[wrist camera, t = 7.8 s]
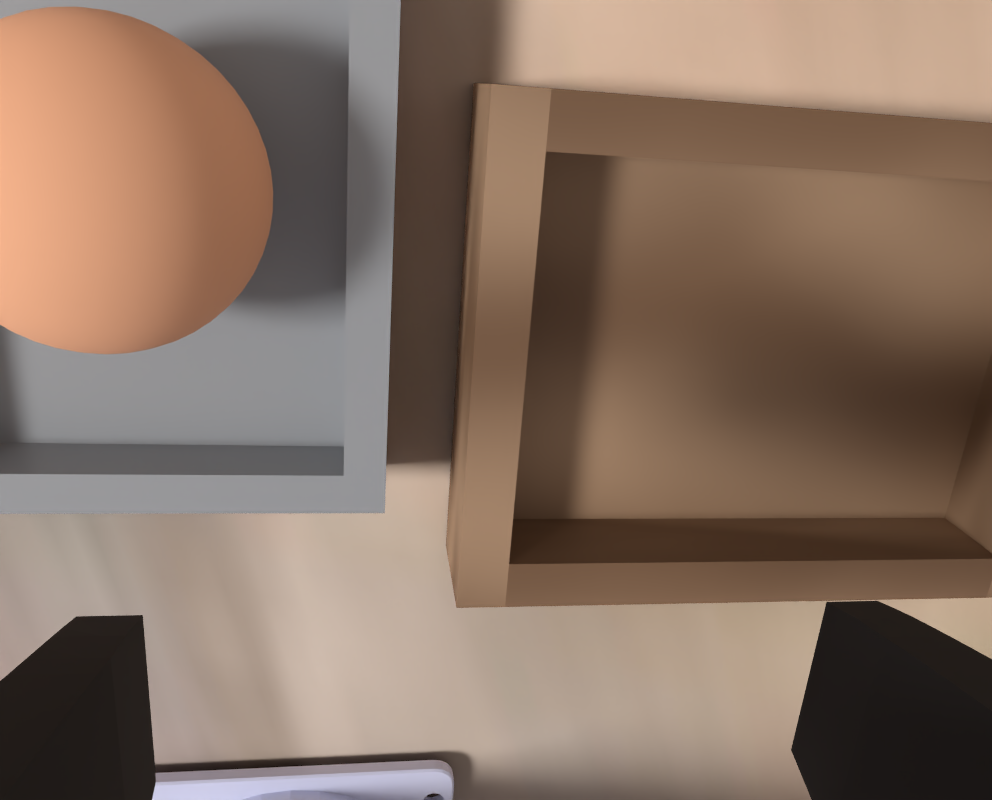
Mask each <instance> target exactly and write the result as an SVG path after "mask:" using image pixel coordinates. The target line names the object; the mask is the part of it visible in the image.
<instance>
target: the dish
mask: <svg viewBox="0 0 992 800" xmlns="http://www.w3.org/2000/svg"><path fill="white" fill-rule="evenodd" d="M446 548H447V554H448V560H449V566H450V572H451V578H452V583H453V589H454V595H455V601H456V607H457V608H468V607H520V606H572V605H624V604H676V603H728V602H780V601H832V600H884V599H936V598H988V597H992V123H983V122H970V121H958V120H945V119H932V118H920V117H907V116H894V115H881V114H869V113H856V112H843V111H831V110H818V109H805V108H792V107H780V106H767V105H754V104H742V103H729V102H716V101H704V100H691V99H678V98H665V97H653V96H640V95H627V94H615V93H602V92H589V91H576V90H564V89H551V88H538V87H526V86H513V85H500V84H482V83H474V87H473V103H472V120H471V137H470V153H469V170H468V187H467V203H466V220H465V237H464V253H463V270H462V287H461V304H460V320H459V337H458V354H457V370H456V387H455V404H454V420H453V437H452V454H451V470H450V487H449V504H448V520H447V537H446Z"/></svg>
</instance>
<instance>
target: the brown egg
mask: <svg viewBox="0 0 992 800" xmlns="http://www.w3.org/2000/svg"><path fill="white" fill-rule="evenodd" d="M272 214H273V185H272V176H271V169H270V165H269V160H268V156H267V152H266V148H265V146H264V143H263V140H262V138H261V135H260V132H259V130H258V127H257V125H256V123H255V122H254V120H253V118H252V116H251V114H250V112H249V110H248V108H247V107H246V105H245V104H244V102H243V101H242V99H241V98H240V96H239V95H238V93H237V92H236V90H235V89H234V88H233V87H232V85H231V84H230V83H229V82H228V81H227V80H226V79H225V77H224V76H223V75H222V74H221V73H220V72H219V71H218V70H217V69H216V68H215V67H214V66H213V65H212V64H211V63H210V62H208V61H207V60H206V59H205V58H204V57H203V56H202V55H201V54H199V53H198V52H197V51H195V50H194V49H192V48H191V47H189V46H188V45H187V44H185V43H184V42H182V41H181V40H179V39H178V38H176V37H174V36H173V35H171V34H169V33H167V32H165V31H163V30H162V29H160V28H158V27H156V26H154V25H152V24H149V23H147V22H144V21H142V20H139V19H136V18H134V17H131V16H128V15H124V14H120V13H116V12H112V11H108V10H101V9H93V8H85V7H46V8H40V9H33V10H26V11H23V12H20V13H17V14H13V15H10V16H7V17H4V18H1V19H0V325H1V326H3V327H5V328H7V329H8V330H10V331H12V332H14V333H16V334H18V335H21V336H23V337H25V338H28V339H30V340H32V341H35V342H38V343H41V344H44V345H48V346H51V347H54V348H59V349H64V350H69V351H75V352H81V353H93V354H122V353H132V352H137V351H143V350H148V349H152V348H156V347H159V346H162V345H165V344H168V343H172V342H175V341H177V340H179V339H181V338H183V337H185V336H188V335H190V334H192V333H194V332H195V331H197V330H198V329H200V328H202V327H203V326H205V325H206V324H208V323H209V322H211V321H212V320H213V319H214V318H216V317H217V316H218V315H219V314H220V313H221V312H223V311H224V310H225V309H226V308H227V307H228V306H230V304H231V303H232V302H233V301H234V300H235V299H236V298H237V296H238V295H239V294H240V293H241V292H242V291H243V289H244V288H245V286H246V285H247V283H248V282H249V280H250V279H251V277H252V276H253V274H254V272H255V270H256V268H257V266H258V263H259V261H260V259H261V257H262V255H263V252H264V249H265V246H266V242H267V239H268V236H269V232H270V226H271V220H272Z"/></svg>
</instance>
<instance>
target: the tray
mask: <svg viewBox="0 0 992 800" xmlns="http://www.w3.org/2000/svg"><path fill="white" fill-rule="evenodd" d="M46 7H85V8H93V9H101V10H108V11H112V12H116V13H120V14H124V15H128V16H131V17H134V18H136V19H139V20H142V21H144V22H147V23H149V24H152V25H154V26H156V27H158V28H160V29H162V30H163V31H165V32H167V33H169V34H171V35H173V36H174V37H176V38H178V39H179V40H181V41H182V42H184V43H185V44H187V45H188V46H189V47H191V48H192V49H194V50H195V51H197V52H198V53H199V54H201V55H202V56H203V57H204V58H205V59H206V60H207V61H208V62H210V63H211V64H212V65H213V66H214V67H215V68H216V69H217V70H218V71H219V72H220V73H221V74H222V75H223V76H224V77H225V79H226V80H227V81H228V82H229V83H230V84H231V85H232V87H233V88H234V89H235V90H236V92H237V93H238V95H239V96H240V98H241V99H242V101H243V102H244V104H245V105H246V107H247V108H248V110H249V112H250V114H251V116H252V118H253V120H254V122H255V123H256V125H257V127H258V130H259V132H260V135H261V138H262V140H263V143H264V146H265V148H266V152H267V156H268V160H269V165H270V169H271V176H272V185H273V214H272V220H271V226H270V232H269V236H268V239H267V242H266V246H265V249H264V252H263V255H262V257H261V259H260V261H259V263H258V266H257V268H256V270H255V272H254V274H253V276H252V277H251V279H250V280H249V282H248V283H247V285H246V286H245V288H244V289H243V291H242V292H241V293H240V294H239V295H238V296H237V298H236V299H235V300H234V301H233V302H232V303H231V304H230V306H228V307H227V308H226V309H225V310H224V311H223V312H221V313H220V314H219V315H218V316H217V317H216V318H214V319H213V320H212V321H211V322H209V323H208V324H206V325H205V326H203V327H202V328H200V329H198V330H197V331H195V332H194V333H192V334H190V335H188V336H185V337H183V338H181V339H179V340H177V341H175V342H172V343H168V344H165V345H162V346H159V347H156V348H152V349H148V350H143V351H137V352H132V353H122V354H93V353H81V352H75V351H69V350H64V349H59V348H54V347H51V346H48V345H44V344H41V343H38V342H35V341H32V340H30V339H28V338H25V337H23V336H21V335H18V334H16V333H14V332H12V331H10V330H8V329H7V328H5V327H3V326H1V325H0V514H109V513H385V487H386V455H387V423H388V391H389V359H390V327H391V296H392V264H393V232H394V200H395V168H396V137H397V105H398V73H399V41H400V9H401V0H0V19H1V18H4V17H7V16H10V15H13V14H17V13H20V12H23V11H26V10H33V9H40V8H46Z"/></svg>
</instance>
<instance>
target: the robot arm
mask: <svg viewBox="0 0 992 800" xmlns="http://www.w3.org/2000/svg"><path fill="white" fill-rule="evenodd" d="M791 751H792V753H793V755H794V758H795V760H796V763H797V765H798V768H799V770H800V772H801V775H802V777H803V780H804V782H805V784H806V787H807V789H808V792H809V794H810V797H811V799H812V800H992V659H990V658H988V657H986V656H985V655H983V654H981V653H979V652H977V651H976V650H974V649H972V648H970V647H968V646H966V645H965V644H963V643H961V642H959V641H957V640H955V639H954V638H952V637H950V636H948V635H946V634H944V633H942V632H940V631H939V630H937V629H935V628H933V627H931V626H929V625H927V624H925V623H923V622H921V621H919V620H917V619H915V618H913V617H911V616H909V615H907V614H905V613H903V612H901V611H899V610H897V609H894V608H892V607H890V606H888V605H885V604H883V603H881V602H878V601H854V602H827V603H826V607H825V611H824V615H823V620H822V624H821V628H820V632H819V636H818V640H817V645H816V649H815V653H814V657H813V661H812V665H811V670H810V674H809V678H808V682H807V686H806V690H805V695H804V699H803V703H802V707H801V711H800V715H799V720H798V724H797V728H796V732H795V736H794V740H793V745H792V749H791ZM453 792H454V779H453V772H452V768H451V767H450V766H449V764H448V763H446V762H444V761H441V760H419V761H398V762H377V763H356V764H335V765H314V766H292V767H271V768H250V769H229V770H208V771H187V772H166V773H155V762H154V749H153V737H152V725H151V713H150V700H149V688H148V676H147V663H146V651H145V639H144V626H143V615H133V616H82V617H75V618H74V619H73V620H72V621H70V622H69V623H68V624H67V625H65V626H64V627H63V628H62V629H61V630H59V631H58V632H57V633H56V634H55V635H53V636H52V637H51V638H50V639H49V640H48V641H46V642H45V643H44V644H43V645H42V646H41V647H39V648H38V649H37V650H36V651H35V652H34V653H32V654H31V655H30V656H29V657H28V658H27V659H26V660H24V661H23V662H22V663H21V664H20V665H19V666H17V667H16V668H15V669H14V670H13V671H12V672H10V673H9V674H8V675H7V676H6V677H5V678H3V679H2V680H1V681H0V800H453ZM433 793H436V794H439V795H438V796H436V797H426V796H427V795H429V794H433Z"/></svg>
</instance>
